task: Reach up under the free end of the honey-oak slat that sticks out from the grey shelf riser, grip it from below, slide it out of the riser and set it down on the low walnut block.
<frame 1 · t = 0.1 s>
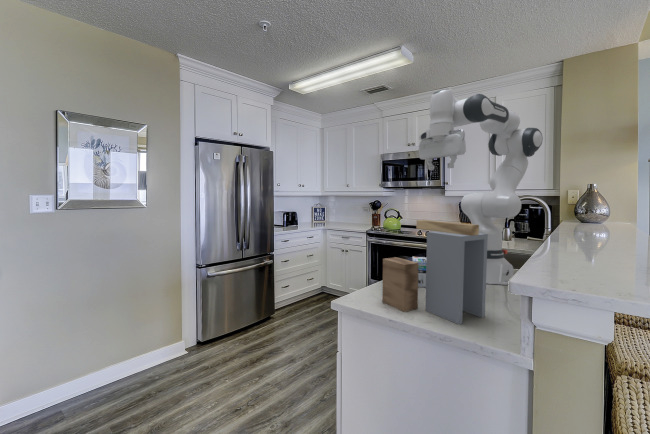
hand: (440, 169, 124), 48 cm above the counter, tool pointing down, fingers open, 8 cm apart
light bulb box: (420, 284, 137), on the counter
walnut block: (399, 305, 110), on the counter
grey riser: (454, 313, 103), on the counter
oak slat: (444, 231, 105), point 26 cm above the counter, touching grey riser
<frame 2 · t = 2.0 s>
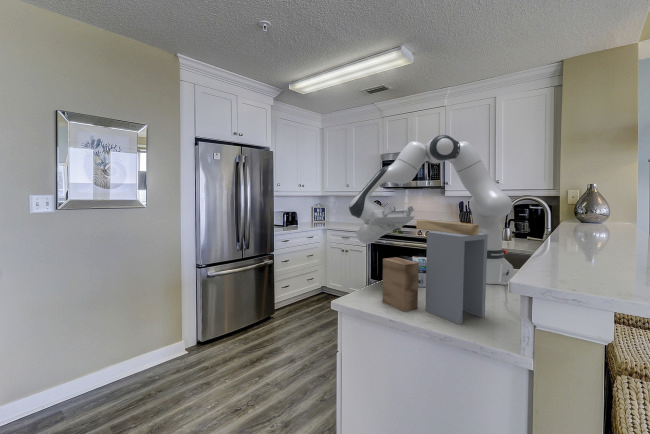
hand: (403, 208, 121), 33 cm above the counter, tool pointing upward, fingers open, 8 cm apart
nothing on the counter moved.
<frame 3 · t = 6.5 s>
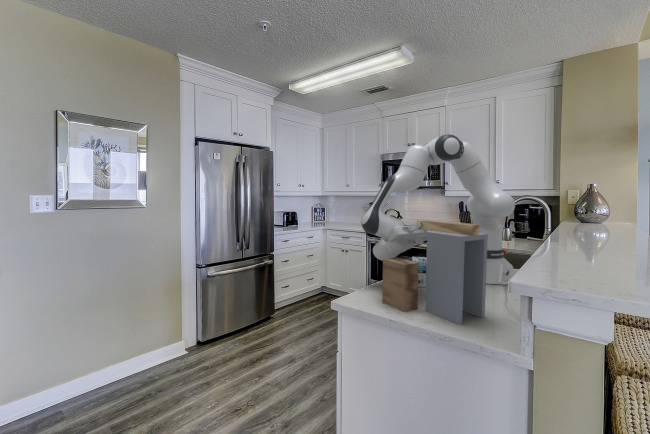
hand: (426, 223, 112), 28 cm above the counter, tool pointing upward, fingers closed on oak slat, 3 cm apart
oak slat: (444, 231, 105), point 26 cm above the counter, touching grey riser, gripper
everything else where it was.
when the fingers open (18 cm above the counter, at t = 12.8 s): oak slat stays where it is, resting on walnut block.
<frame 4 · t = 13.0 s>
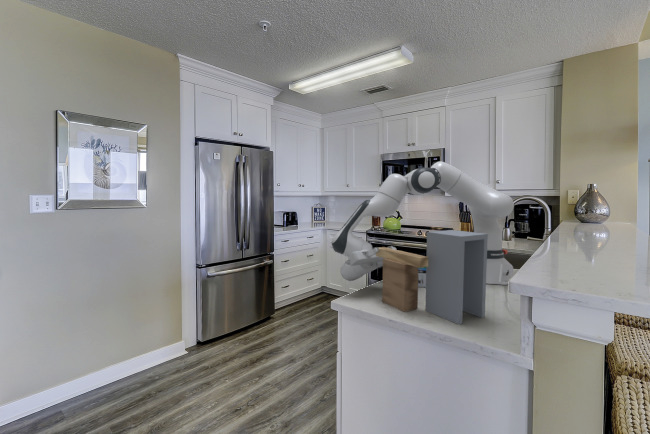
hand: (384, 248, 116), 18 cm above the counter, tool pointing upward, fingers open, 5 cm apart
oak slat: (399, 260, 109), point 15 cm above the counter, touching walnut block
everything else where it was.
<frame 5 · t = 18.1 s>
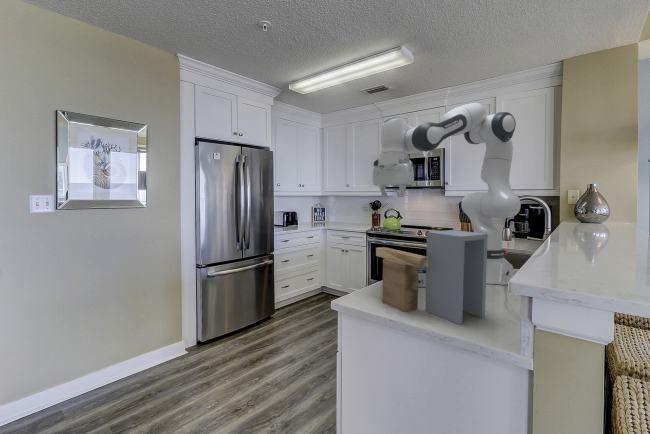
hand: (392, 197, 124), 37 cm above the counter, tool pointing down, fingers open, 8 cm apart
nothing on the counter moved.
at the end: oak slat inside the target area (0.1 cm from its centre), point 15.5 cm above the counter; oak slat touching walnut block; the gripper is holding nothing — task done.
